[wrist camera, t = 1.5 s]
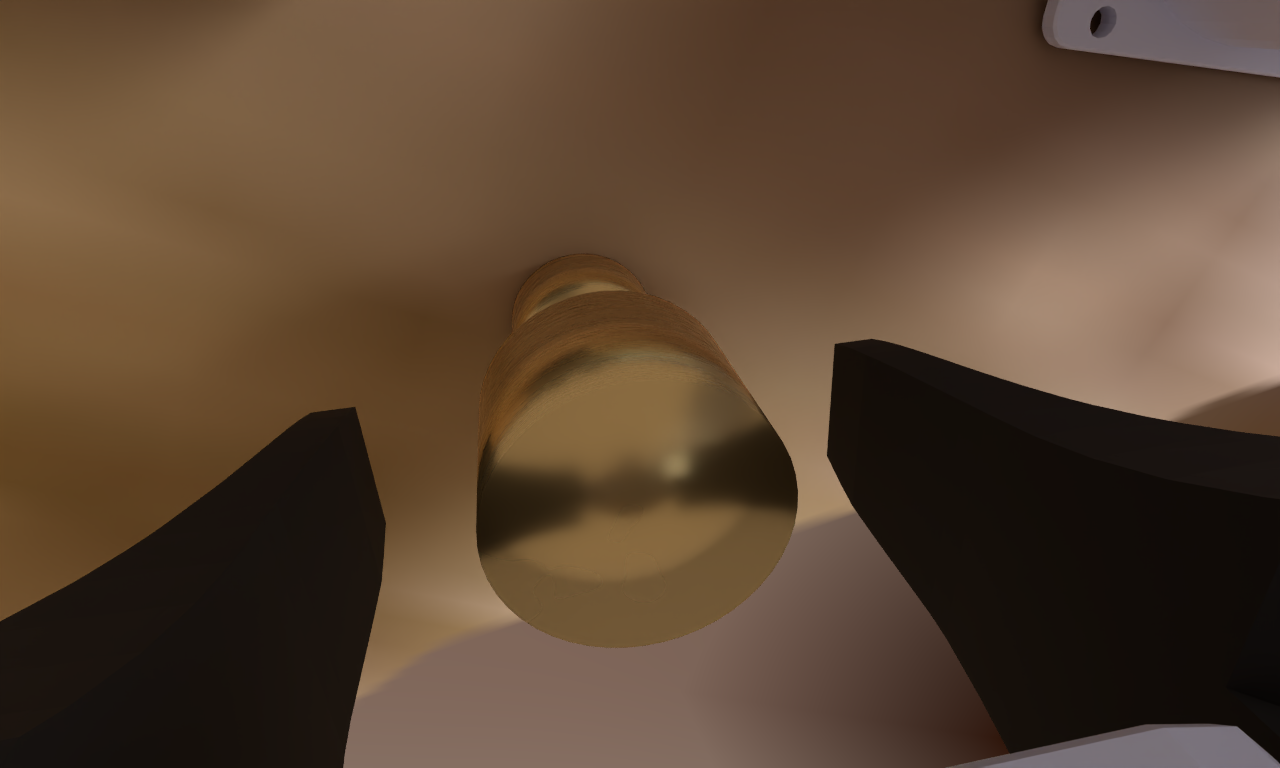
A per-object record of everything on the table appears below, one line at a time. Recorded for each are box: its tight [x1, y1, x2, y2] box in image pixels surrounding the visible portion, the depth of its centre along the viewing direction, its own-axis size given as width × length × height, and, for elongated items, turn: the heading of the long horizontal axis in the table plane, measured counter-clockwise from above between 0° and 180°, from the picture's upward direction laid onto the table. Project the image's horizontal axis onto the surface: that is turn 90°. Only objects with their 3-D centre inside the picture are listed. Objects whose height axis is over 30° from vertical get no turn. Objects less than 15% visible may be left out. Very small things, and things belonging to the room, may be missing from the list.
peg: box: [476, 254, 798, 648], centre depth 12 cm, size 4×4×7 cm
